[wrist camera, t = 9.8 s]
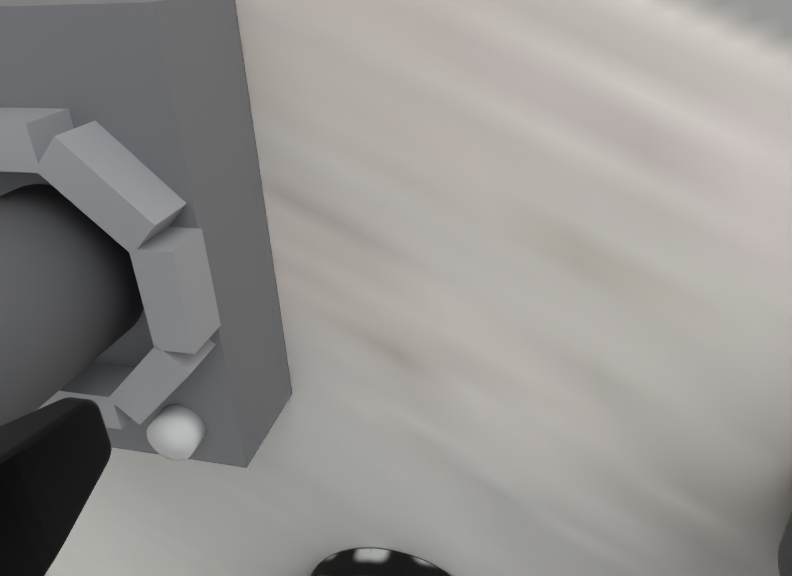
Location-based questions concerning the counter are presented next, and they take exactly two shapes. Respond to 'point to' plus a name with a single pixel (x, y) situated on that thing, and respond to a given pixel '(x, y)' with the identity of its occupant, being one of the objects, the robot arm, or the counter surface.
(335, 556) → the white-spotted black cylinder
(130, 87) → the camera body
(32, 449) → the robot arm
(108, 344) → the lens
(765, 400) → the counter surface
